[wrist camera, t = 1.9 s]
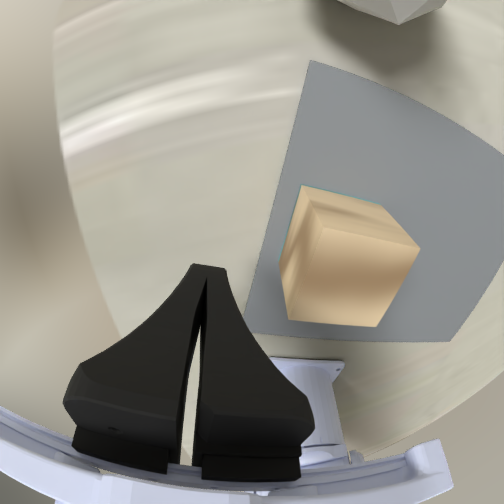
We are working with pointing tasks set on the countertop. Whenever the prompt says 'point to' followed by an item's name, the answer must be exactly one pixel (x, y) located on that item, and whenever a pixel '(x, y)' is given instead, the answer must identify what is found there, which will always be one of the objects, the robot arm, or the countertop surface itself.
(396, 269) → the oak block
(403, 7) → the die
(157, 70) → the countertop surface
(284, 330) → the rubber mat
